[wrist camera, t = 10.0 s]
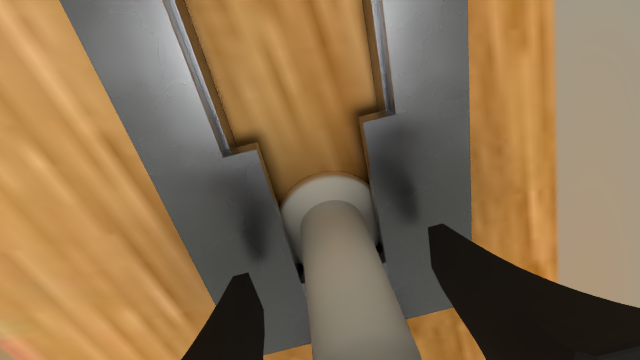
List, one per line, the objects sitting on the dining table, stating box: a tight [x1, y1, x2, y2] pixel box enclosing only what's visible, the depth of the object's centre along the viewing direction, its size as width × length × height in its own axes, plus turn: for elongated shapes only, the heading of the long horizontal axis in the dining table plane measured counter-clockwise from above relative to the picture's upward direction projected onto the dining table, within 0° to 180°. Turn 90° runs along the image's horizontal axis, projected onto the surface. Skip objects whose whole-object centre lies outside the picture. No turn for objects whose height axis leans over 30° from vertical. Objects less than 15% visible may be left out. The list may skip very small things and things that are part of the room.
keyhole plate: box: [60, 0, 471, 355], centre depth 14 cm, size 20×12×2 cm, turn 12°
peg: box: [280, 171, 421, 360], centre depth 13 cm, size 5×5×8 cm
